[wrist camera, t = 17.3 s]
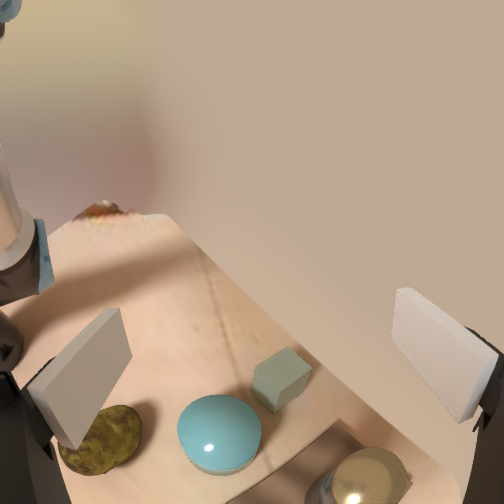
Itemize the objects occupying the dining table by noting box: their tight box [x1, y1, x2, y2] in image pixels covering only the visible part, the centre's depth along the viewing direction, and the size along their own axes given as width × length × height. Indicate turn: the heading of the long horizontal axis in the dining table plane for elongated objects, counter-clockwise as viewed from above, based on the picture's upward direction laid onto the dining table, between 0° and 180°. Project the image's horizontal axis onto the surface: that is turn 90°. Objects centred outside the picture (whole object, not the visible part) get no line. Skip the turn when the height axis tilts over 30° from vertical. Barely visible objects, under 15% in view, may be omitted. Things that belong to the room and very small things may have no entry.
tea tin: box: [304, 448, 407, 504], centre depth 21 cm, size 7×7×12 cm
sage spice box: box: [252, 347, 312, 414], centre depth 38 cm, size 6×5×7 cm
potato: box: [58, 405, 141, 476], centre depth 26 cm, size 8×13×8 cm, turn 134°
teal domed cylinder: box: [177, 395, 262, 476], centre depth 31 cm, size 10×10×6 cm
